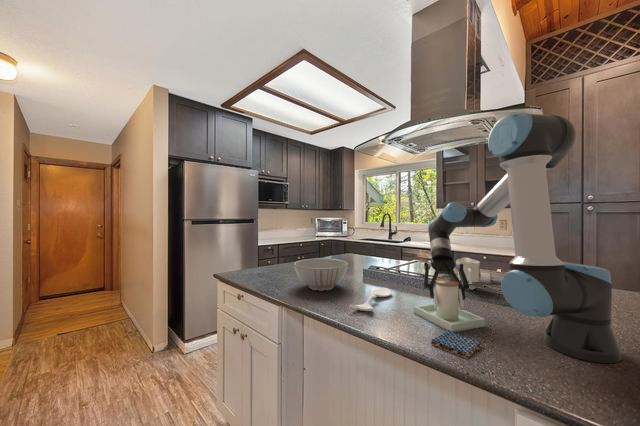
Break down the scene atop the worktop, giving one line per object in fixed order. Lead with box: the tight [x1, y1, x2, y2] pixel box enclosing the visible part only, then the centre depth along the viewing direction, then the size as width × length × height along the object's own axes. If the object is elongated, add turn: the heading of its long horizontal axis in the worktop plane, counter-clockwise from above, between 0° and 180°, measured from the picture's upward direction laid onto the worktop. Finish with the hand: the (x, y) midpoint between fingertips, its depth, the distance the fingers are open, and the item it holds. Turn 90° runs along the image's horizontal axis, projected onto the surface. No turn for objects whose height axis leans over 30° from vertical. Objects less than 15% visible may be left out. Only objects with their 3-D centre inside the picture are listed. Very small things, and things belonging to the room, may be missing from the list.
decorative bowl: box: [293, 258, 349, 292], centre depth 139 cm, size 27×27×12 cm
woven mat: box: [430, 330, 483, 359], centre depth 79 cm, size 10×11×2 cm
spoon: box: [348, 287, 393, 312], centre depth 116 cm, size 9×32×4 cm, turn 151°
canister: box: [435, 278, 460, 320], centre depth 98 cm, size 7×7×12 cm
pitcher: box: [454, 256, 482, 284], centre depth 135 cm, size 11×18×14 cm, turn 160°
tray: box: [413, 302, 486, 333], centre depth 98 cm, size 18×14×2 cm
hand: (448, 307), depth 94 cm, fingers open, 7 cm apart
